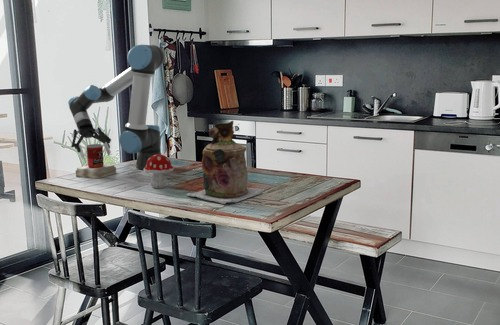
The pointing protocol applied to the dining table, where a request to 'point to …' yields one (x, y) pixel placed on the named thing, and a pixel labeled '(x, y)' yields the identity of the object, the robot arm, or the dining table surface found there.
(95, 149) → the canned food
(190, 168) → the dining table surface
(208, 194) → the cookie jar
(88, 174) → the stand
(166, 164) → the decorative mushroom
